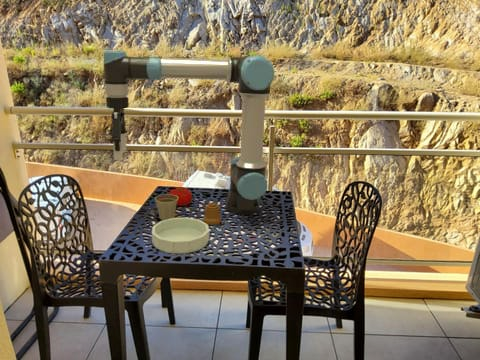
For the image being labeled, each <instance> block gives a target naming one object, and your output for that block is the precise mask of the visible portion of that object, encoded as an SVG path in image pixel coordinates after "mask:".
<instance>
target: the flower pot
mask: <svg viewBox="0 0 480 360" xmlns="http://www.w3.org/2000/svg"><path fill="white" fill-rule="evenodd" d="M177 200H178V196H176V195H172V194H169V193H165V194H164V193H163V194H159V195H157V196H155V197H154V201H155V204H156V205H157V211H158V217H159V219H160V221H163V220H167V219H171V218H176V209H177V205H176V203H177Z"/></svg>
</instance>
